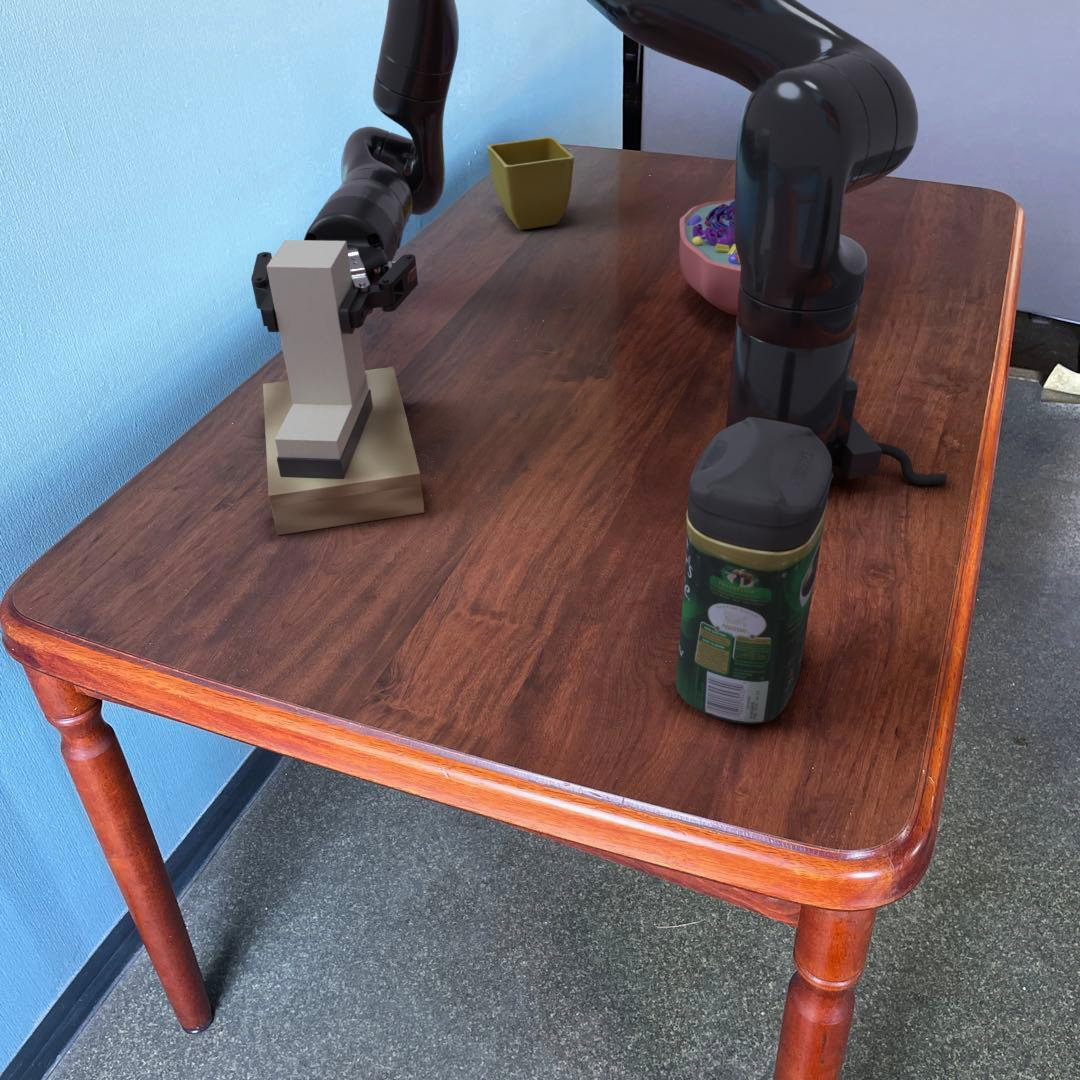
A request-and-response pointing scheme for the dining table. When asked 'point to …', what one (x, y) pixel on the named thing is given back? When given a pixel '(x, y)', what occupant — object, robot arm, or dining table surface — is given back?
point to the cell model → (711, 253)
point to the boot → (318, 360)
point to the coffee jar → (750, 568)
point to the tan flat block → (372, 476)
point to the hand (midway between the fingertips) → (308, 322)
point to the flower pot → (532, 180)
